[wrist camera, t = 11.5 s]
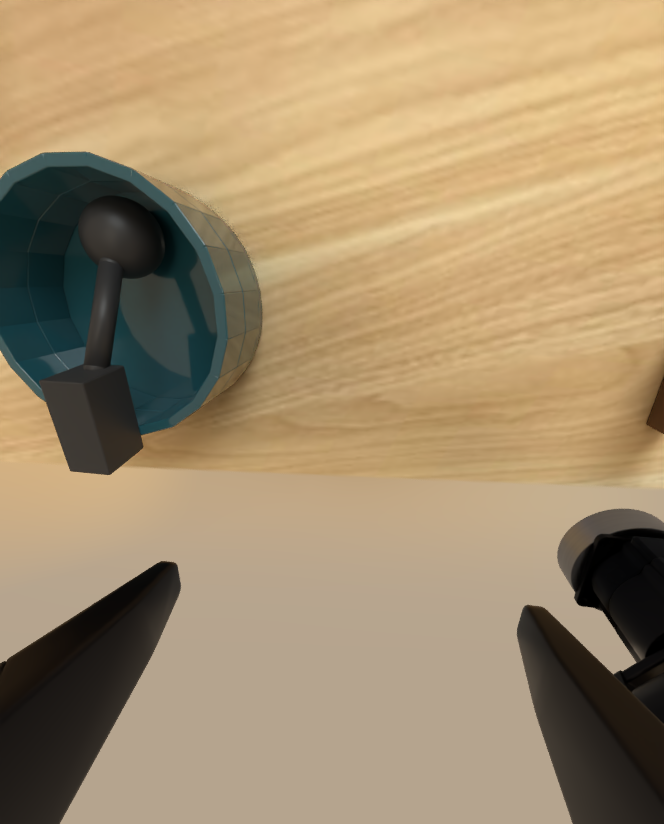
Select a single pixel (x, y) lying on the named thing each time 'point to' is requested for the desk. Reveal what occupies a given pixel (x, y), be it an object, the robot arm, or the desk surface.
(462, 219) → the desk surface
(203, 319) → the bowl
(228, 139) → the desk surface
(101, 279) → the ladle
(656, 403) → the chocolate brown square
